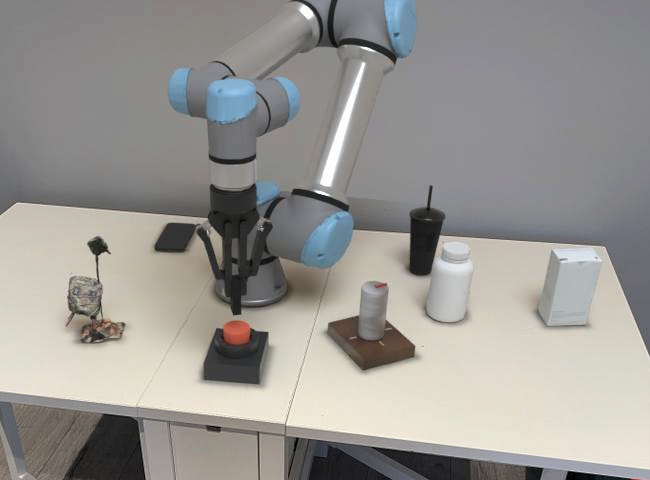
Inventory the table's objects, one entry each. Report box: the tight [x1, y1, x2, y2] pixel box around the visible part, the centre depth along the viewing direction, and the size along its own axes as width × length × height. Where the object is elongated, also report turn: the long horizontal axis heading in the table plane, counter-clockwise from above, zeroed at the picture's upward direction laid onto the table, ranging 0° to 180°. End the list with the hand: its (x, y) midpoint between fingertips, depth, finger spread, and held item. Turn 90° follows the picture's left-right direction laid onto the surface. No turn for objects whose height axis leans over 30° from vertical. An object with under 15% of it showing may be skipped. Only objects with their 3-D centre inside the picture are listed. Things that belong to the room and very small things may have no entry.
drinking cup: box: [408, 185, 446, 277], centre depth 167 cm, size 8×8×20 cm
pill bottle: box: [426, 241, 475, 323], centre depth 152 cm, size 8×8×15 cm
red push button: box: [222, 319, 251, 345], centre depth 137 cm, size 5×5×2 cm
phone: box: [153, 222, 196, 253], centre depth 185 cm, size 7×1×15 cm
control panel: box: [327, 314, 416, 371], centre depth 146 cm, size 14×11×3 cm
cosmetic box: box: [538, 246, 603, 327], centre depth 151 cm, size 8×6×15 cm
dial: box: [358, 280, 390, 341], centre depth 142 cm, size 5×5×10 cm
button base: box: [203, 327, 270, 385], centre depth 139 cm, size 12×10×6 cm
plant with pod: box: [64, 235, 126, 343], centre depth 144 cm, size 8×11×20 cm
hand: (235, 311), depth 135 cm, fingers closed
